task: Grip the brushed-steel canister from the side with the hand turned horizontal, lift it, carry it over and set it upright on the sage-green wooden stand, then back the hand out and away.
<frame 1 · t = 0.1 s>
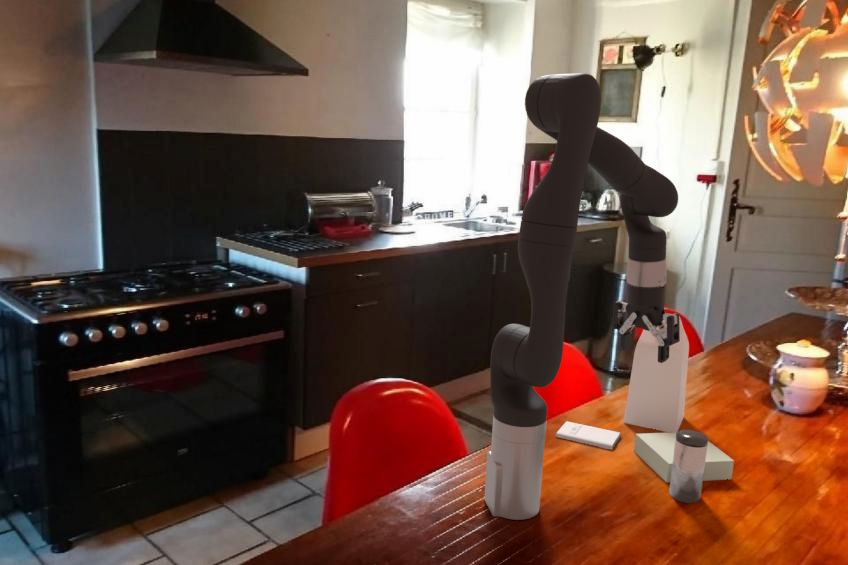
hand: (644, 355, 145), 22 cm above the table, tool pointing down, fingers open, 8 cm apart
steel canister: (684, 495, 134), on the table
external hard drive: (588, 439, 159), on the table
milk: (653, 420, 170), on the table
stand: (680, 464, 147), on the table
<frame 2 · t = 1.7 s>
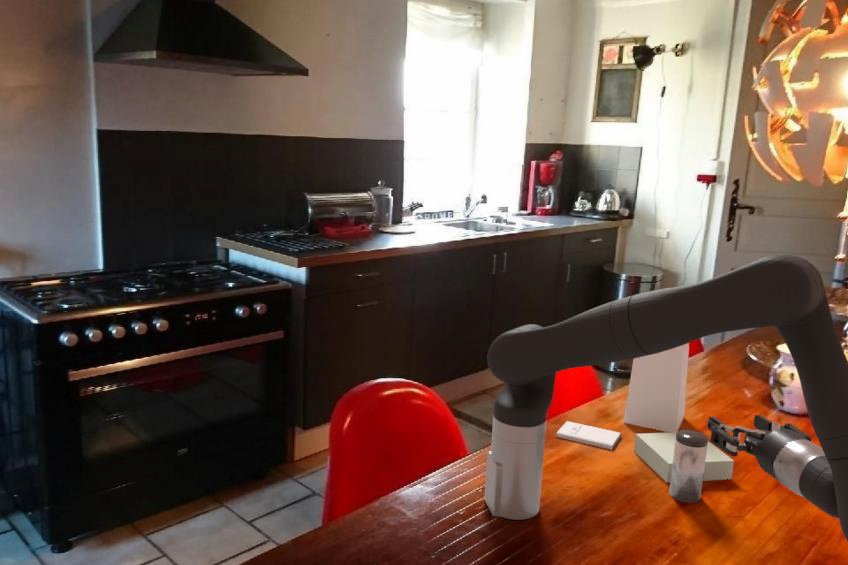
hand: (733, 420, 120), 20 cm above the table, tool horizontal, fingers open, 8 cm apart
nothing on the table moved.
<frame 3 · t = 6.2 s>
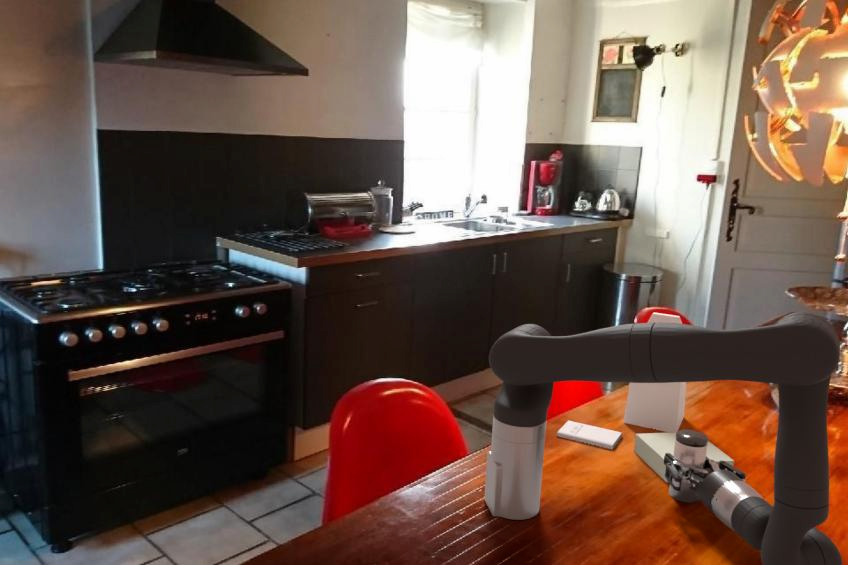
hand: (681, 457, 135), 7 cm above the table, tool horizontal, fingers closed on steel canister, 5 cm apart
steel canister: (684, 495, 134), on the table, touching gripper
everything else where it was.
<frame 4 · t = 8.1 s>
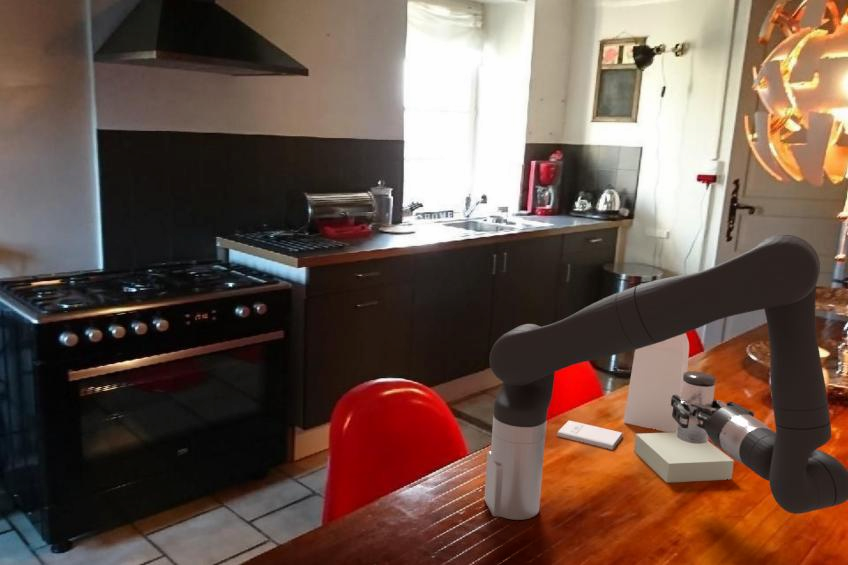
hand: (688, 399, 134), 18 cm above the table, tool horizontal, fingers closed on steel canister, 5 cm apart
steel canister: (691, 437, 133), point 11 cm above the table, touching gripper
everything else where it was.
when the fingers open (12 cm above the table, at t = 10.4 s): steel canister drops 1 cm, resting on stand.
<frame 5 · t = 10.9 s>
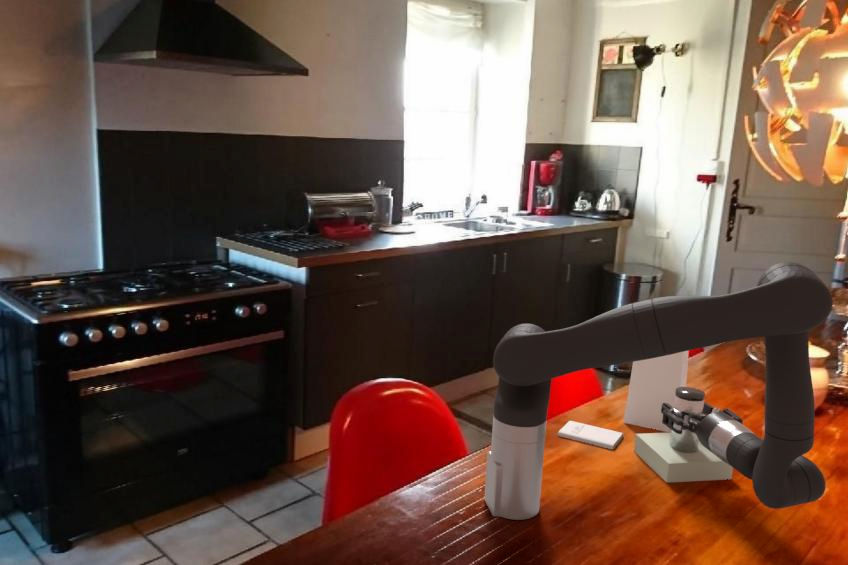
hand: (682, 406, 146), 12 cm above the table, tool horizontal, fingers open, 8 cm apart
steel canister: (683, 446, 146), point 4 cm above the table, touching stand
everything else where it was.
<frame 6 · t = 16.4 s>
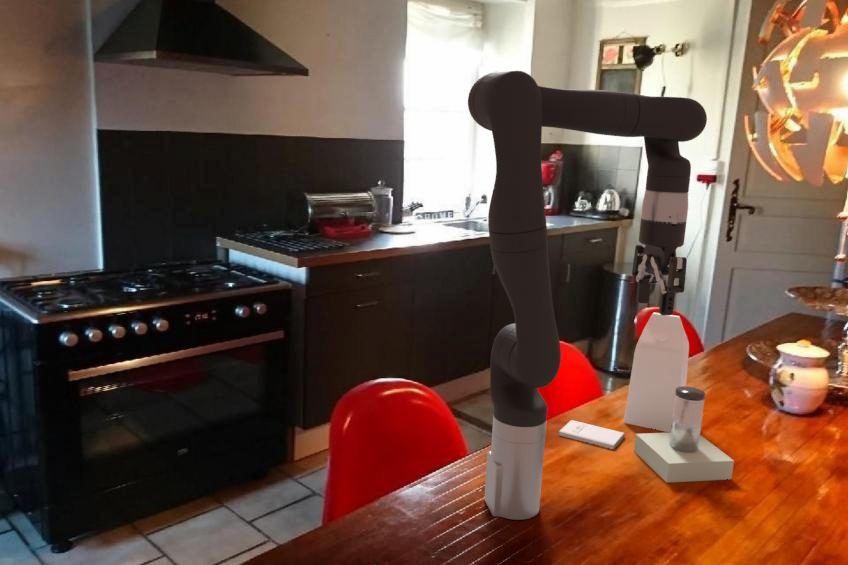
hand: (653, 308, 126), 36 cm above the table, tool pointing down, fingers open, 8 cm apart
nothing on the table moved.
at the end: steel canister inside the target area on the stand (0.1 cm from its centre), point 4.0 cm above the stand's base; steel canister tilted 1°; the gripper is holding nothing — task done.
